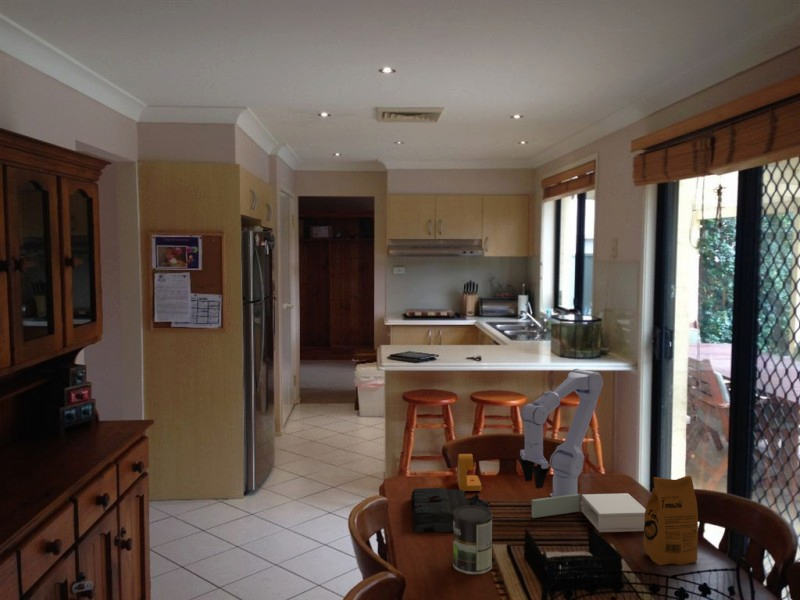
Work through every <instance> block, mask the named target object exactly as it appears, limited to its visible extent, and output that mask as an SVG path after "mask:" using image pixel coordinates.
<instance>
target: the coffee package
mask: <svg viewBox="0 0 800 600" xmlns="http://www.w3.org/2000/svg"><path fill="white" fill-rule="evenodd" d="M652 482H653V486H654V487H653V488H652V491H651V493H650V496H649V498H648V500H647V503H646V505H645V509H646V510H645V520H644V531H643V548H644V553H645V555H647V556H648V557H649V558H650V560H651V562H653V563H655V564H656V565H658V566H666V565H671V564H674V565H677V566H684V565H685V566H686V565H689V564H692V563H693V564H694V563H697V562H698V544H699V543H698V541H699V539H698V537H699V522H698V521H699V513H698V512H699V511H698V501H697V497H696V493H695V487H694V486H695V485H694V482H693V478H692V475H685V476H683V477H679V478H677V479H673V478H672V479H671V478H663V477H655V476H653V477H652Z"/></svg>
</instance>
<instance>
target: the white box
mask: <svg viewBox="0 0 800 600" xmlns="http://www.w3.org/2000/svg"><path fill="white" fill-rule="evenodd" d="M645 510H646V507H644V506H643V505H642V504H641V503H640V502H638V501H637V500H636V499H635V498H634V497H633V496H631V495H630V494H629V493H625V492H624V493H621V492H620V493H592V494H591V493H590V494H589V493H588V494H587V493H586V494H583V493H581V513H582V514H584V516H585V517H586V518H587V520H588V521H589V522H590V523H591V524H592V525H593V526H594V528H595V529H596V530H597V531H598V532H599V533H618V532H619V533H621V532H623V533H624V532H644V520H645Z"/></svg>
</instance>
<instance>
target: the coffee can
mask: <svg viewBox="0 0 800 600" xmlns="http://www.w3.org/2000/svg"><path fill="white" fill-rule="evenodd" d="M492 530H493V512H492V510H490V508H489V509H487V508H484V507H480V506H462V507H459V508H456V509H455V510H454V511H453V531H452V532H453V538H452V539H453V540H452V543H453V545H452V548H453V550H452V551H453V553H452V555H453V559H452V561H453V562H452V566H453V568H454V570H456V571H457V572H460V573H462V574H467V575H482V574H486V573H488V572H489V571H491V570H492V568H493V560H492V559H493V557H492V556H493V555H492V554H493V553H492V552H493V551H492V549H493V544H492V542H493V537H492V536H493V531H492Z"/></svg>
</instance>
